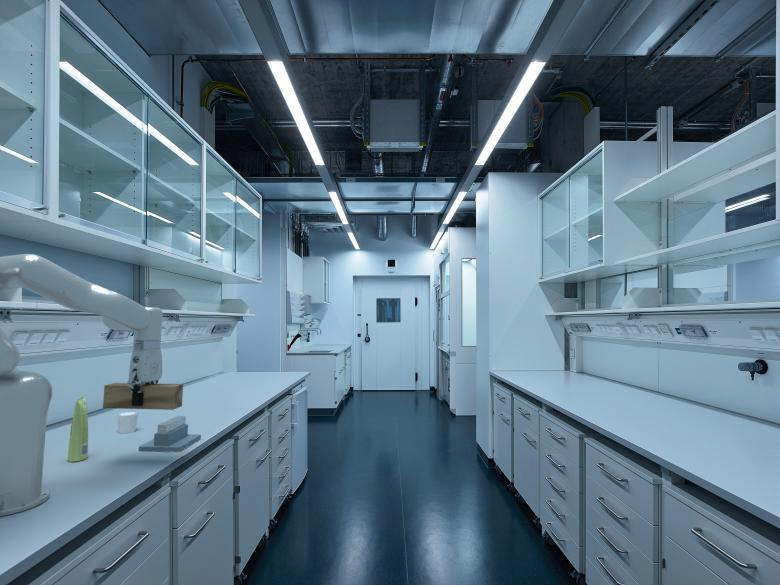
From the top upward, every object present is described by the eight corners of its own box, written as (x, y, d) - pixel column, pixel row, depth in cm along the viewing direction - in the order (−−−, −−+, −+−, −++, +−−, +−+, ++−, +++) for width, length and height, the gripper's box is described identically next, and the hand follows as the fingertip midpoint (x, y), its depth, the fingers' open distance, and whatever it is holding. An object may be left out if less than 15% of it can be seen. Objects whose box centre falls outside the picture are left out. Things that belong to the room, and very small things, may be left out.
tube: (62, 460, 120) (66, 397, 121) (81, 455, 125) (85, 394, 126) (73, 463, 118) (77, 399, 119) (91, 458, 122) (95, 396, 124)
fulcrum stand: (179, 451, 129) (180, 426, 129) (138, 451, 129) (139, 425, 130) (200, 438, 143) (201, 415, 143) (163, 438, 143) (164, 414, 144)
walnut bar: (172, 409, 118) (174, 386, 118) (102, 408, 118) (104, 385, 119) (181, 406, 123) (183, 384, 123) (114, 404, 123) (116, 382, 124)
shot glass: (111, 433, 148) (112, 415, 148) (127, 428, 154) (128, 410, 155) (126, 434, 146) (127, 416, 147) (141, 429, 153) (142, 412, 153)
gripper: (140, 347, 114) (136, 410, 112) (174, 344, 131) (170, 398, 129) (115, 347, 114) (111, 409, 112) (152, 344, 131) (149, 398, 129)
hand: (143, 403), depth 121 cm, fingers closed on walnut bar, 4 cm apart
